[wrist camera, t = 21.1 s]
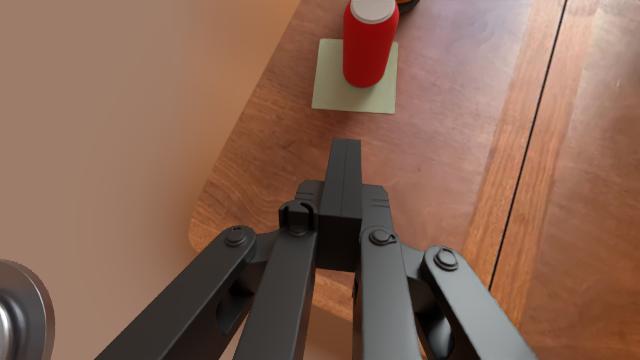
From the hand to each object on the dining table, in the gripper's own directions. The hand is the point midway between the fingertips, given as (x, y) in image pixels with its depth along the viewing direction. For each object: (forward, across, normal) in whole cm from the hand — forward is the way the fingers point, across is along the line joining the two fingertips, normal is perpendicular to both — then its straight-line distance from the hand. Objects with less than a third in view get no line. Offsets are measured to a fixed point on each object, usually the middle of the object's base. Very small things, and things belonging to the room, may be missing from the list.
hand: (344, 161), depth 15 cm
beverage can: (+29, +2, -1) cm, 29 cm away
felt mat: (+29, 0, -1) cm, 29 cm away
